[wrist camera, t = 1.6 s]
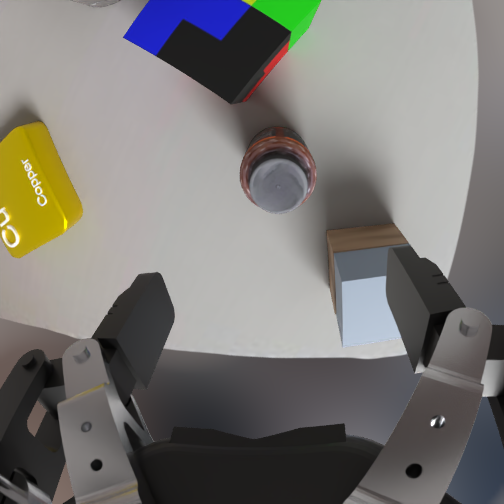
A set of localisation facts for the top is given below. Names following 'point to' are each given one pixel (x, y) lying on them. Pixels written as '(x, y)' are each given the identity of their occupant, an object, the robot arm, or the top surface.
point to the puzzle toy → (222, 39)
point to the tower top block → (363, 297)
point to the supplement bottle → (278, 171)
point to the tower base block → (359, 244)
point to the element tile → (34, 191)
